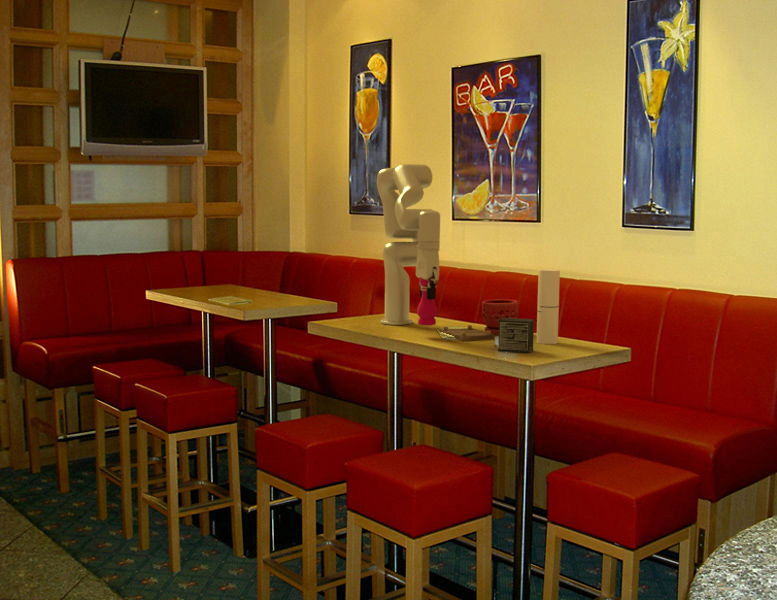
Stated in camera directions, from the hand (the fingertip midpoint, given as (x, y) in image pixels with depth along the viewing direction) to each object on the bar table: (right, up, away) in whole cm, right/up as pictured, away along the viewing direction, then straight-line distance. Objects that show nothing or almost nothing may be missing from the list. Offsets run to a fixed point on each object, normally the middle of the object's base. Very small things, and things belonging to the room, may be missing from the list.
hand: (427, 297), depth 330 cm
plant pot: (+27, -13, +12) cm, 32 cm away
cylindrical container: (+41, -16, -7) cm, 44 cm away
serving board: (+14, -14, +4) cm, 20 cm away
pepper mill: (0, -10, +1) cm, 10 cm away
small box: (+28, -18, -25) cm, 41 cm away
